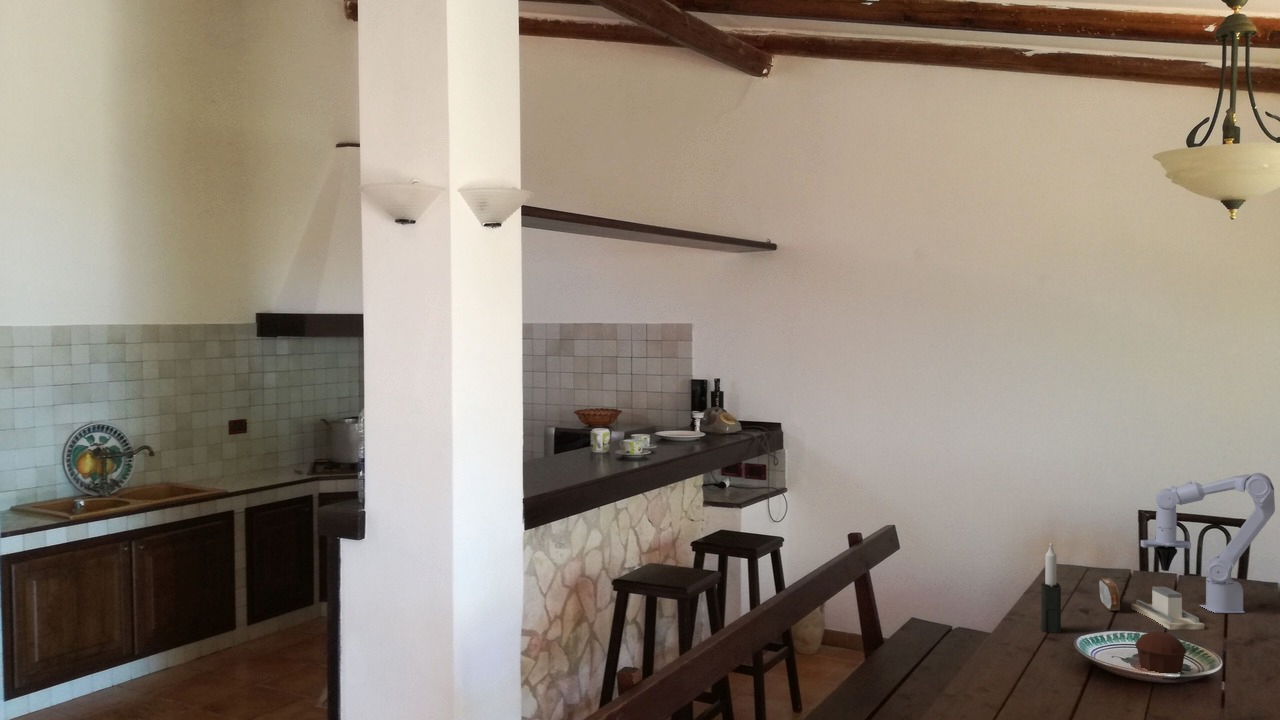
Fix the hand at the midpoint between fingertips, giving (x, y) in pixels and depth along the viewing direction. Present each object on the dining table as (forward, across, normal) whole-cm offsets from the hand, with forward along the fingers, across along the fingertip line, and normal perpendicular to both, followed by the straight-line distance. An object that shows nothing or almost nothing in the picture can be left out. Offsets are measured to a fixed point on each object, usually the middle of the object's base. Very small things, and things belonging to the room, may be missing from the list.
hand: (1165, 570), depth 313 cm
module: (+9, -7, -18) cm, 21 cm away
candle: (+11, -46, -31) cm, 56 cm away
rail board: (+10, -7, -18) cm, 22 cm away
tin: (+11, -19, -6) cm, 23 cm away
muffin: (+10, -31, -68) cm, 75 cm away
